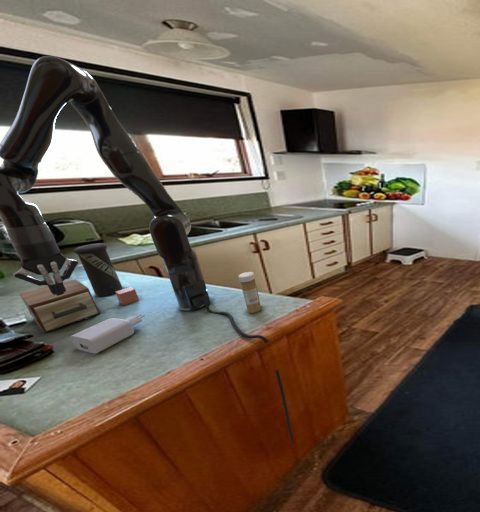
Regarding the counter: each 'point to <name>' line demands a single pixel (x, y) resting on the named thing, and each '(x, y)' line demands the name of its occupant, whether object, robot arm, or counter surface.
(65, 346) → the counter surface
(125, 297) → the block
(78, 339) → the charger
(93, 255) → the container
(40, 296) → the cabinet
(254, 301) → the sprinkles bottle
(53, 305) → the drawer
